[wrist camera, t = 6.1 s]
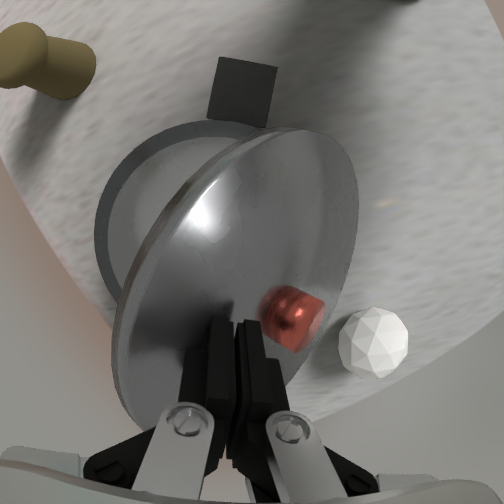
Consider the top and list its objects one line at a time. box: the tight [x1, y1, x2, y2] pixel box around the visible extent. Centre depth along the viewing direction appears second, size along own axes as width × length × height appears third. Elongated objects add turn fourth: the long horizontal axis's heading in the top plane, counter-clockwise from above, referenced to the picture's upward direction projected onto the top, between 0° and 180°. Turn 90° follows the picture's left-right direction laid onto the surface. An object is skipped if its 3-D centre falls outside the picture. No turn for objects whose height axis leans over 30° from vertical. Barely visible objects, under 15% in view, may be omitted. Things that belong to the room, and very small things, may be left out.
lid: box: [111, 127, 359, 432], centre depth 15 cm, size 16×16×3 cm
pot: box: [94, 57, 278, 303], centre depth 25 cm, size 24×16×10 cm, turn 169°
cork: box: [0, 22, 96, 100], centre depth 19 cm, size 6×6×11 cm
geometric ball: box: [338, 307, 408, 379], centre depth 32 cm, size 8×8×8 cm
